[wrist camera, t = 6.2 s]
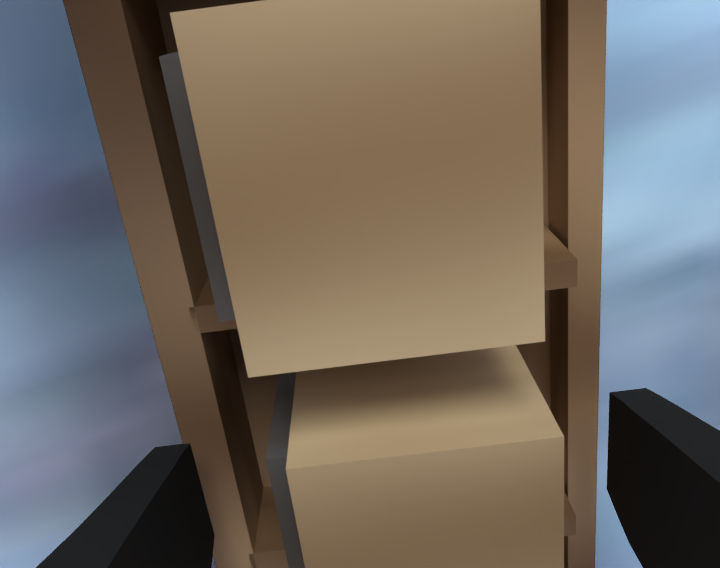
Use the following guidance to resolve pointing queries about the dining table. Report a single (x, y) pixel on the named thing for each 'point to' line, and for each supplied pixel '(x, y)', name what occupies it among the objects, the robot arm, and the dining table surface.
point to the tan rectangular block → (418, 465)
